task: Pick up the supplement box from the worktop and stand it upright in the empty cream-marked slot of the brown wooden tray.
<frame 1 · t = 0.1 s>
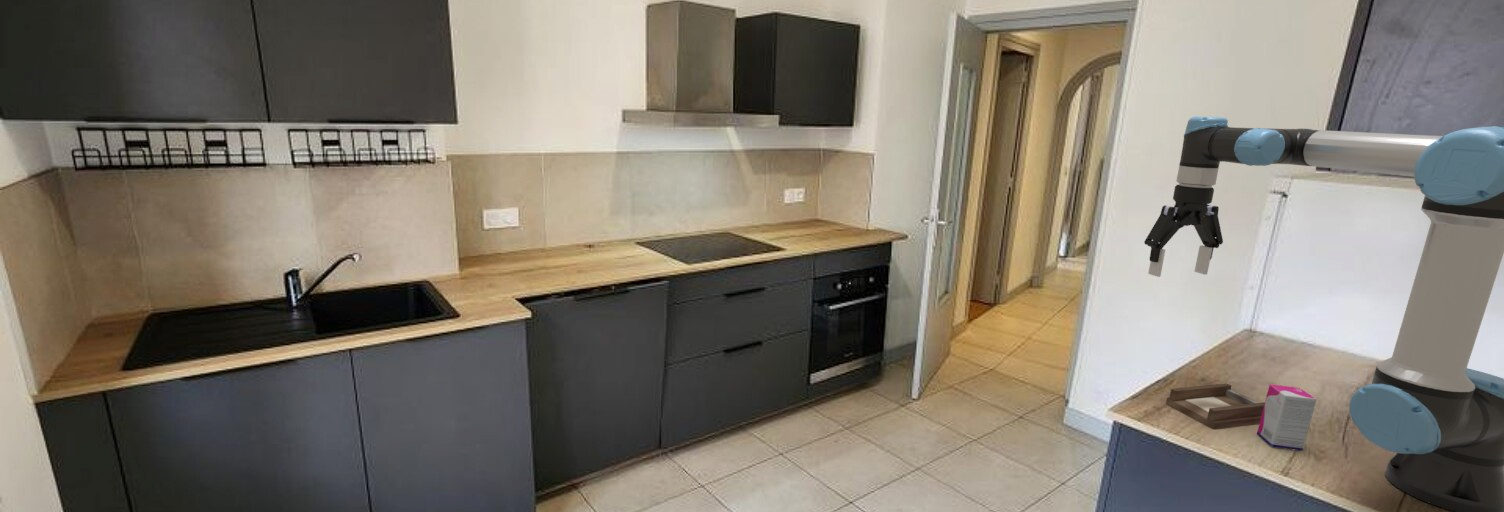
hand: (1177, 274, 153), 28 cm above the counter, tool pointing down, fingers open, 13 cm apart
brown wooden tray: (1217, 412, 144), on the counter
supplement box: (1279, 442, 132), on the counter
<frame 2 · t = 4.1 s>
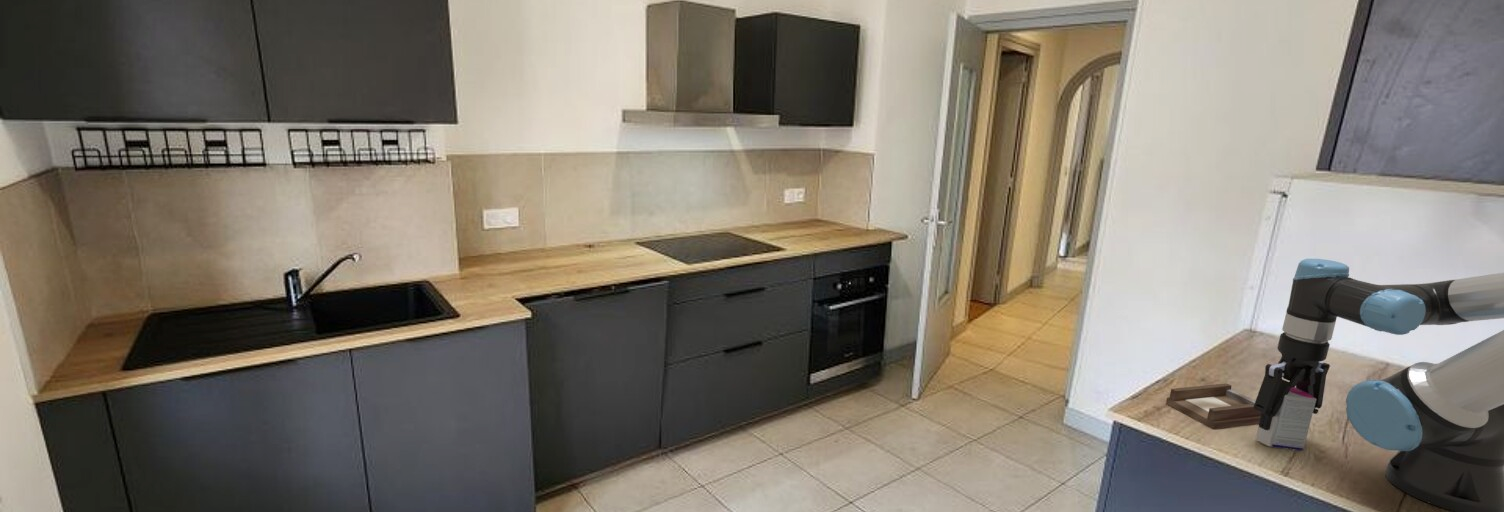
hand: (1279, 440, 132), 0 cm above the counter, tool pointing down, fingers closed on supplement box, 7 cm apart
supplement box: (1279, 442, 132), on the counter, touching gripper
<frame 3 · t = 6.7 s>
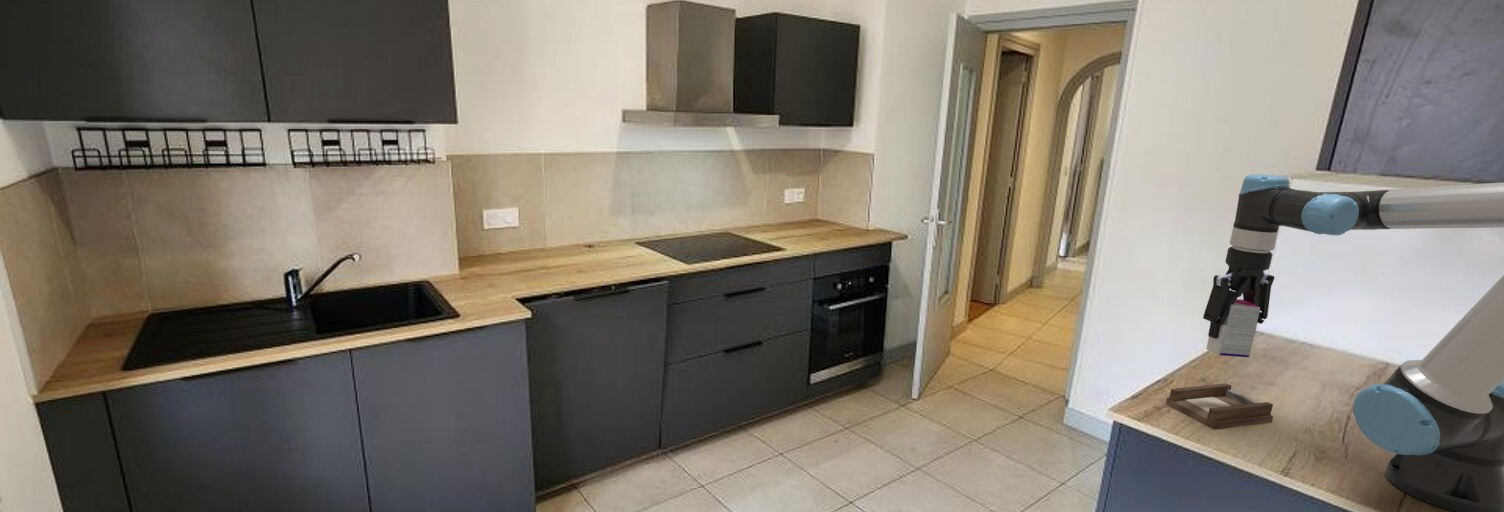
hand: (1227, 350, 140), 15 cm above the counter, tool pointing down, fingers closed on supplement box, 7 cm apart
supplement box: (1228, 352, 141), point 15 cm above the counter, touching gripper
when the fingers open (3 cm above the counter, at t = 9.3 s): supplement box drops 1 cm, resting on brown wooden tray.
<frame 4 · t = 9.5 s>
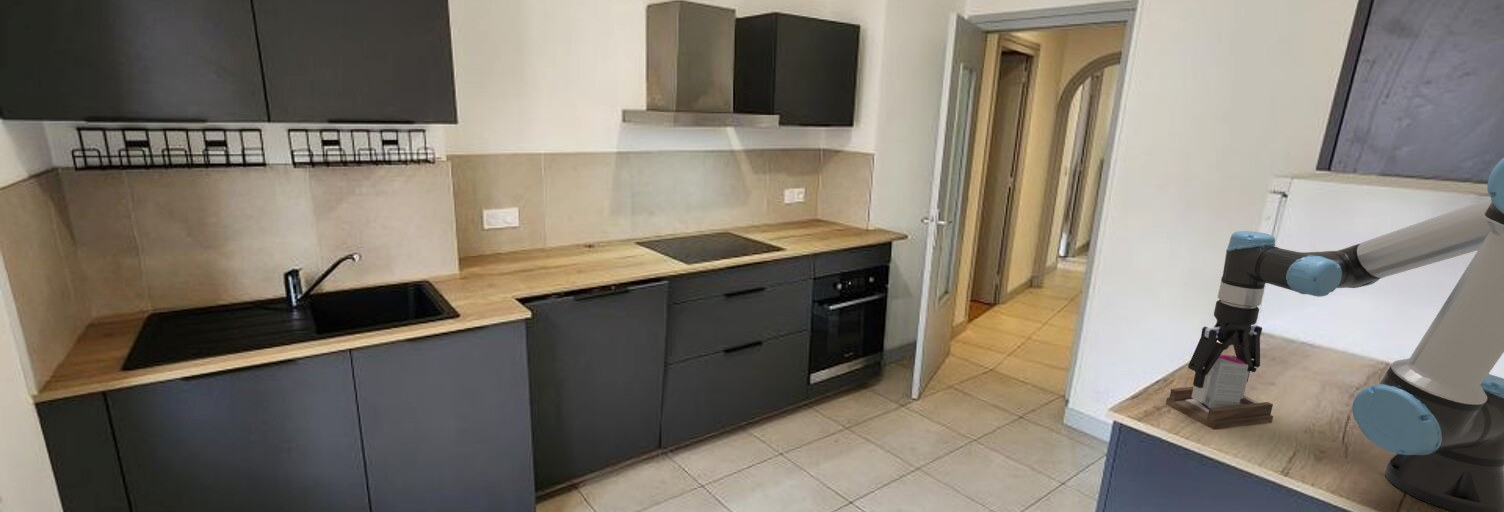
hand: (1217, 398, 143), 4 cm above the counter, tool pointing down, fingers open, 10 cm apart
supplement box: (1216, 407, 144), point 2 cm above the counter, touching brown wooden tray
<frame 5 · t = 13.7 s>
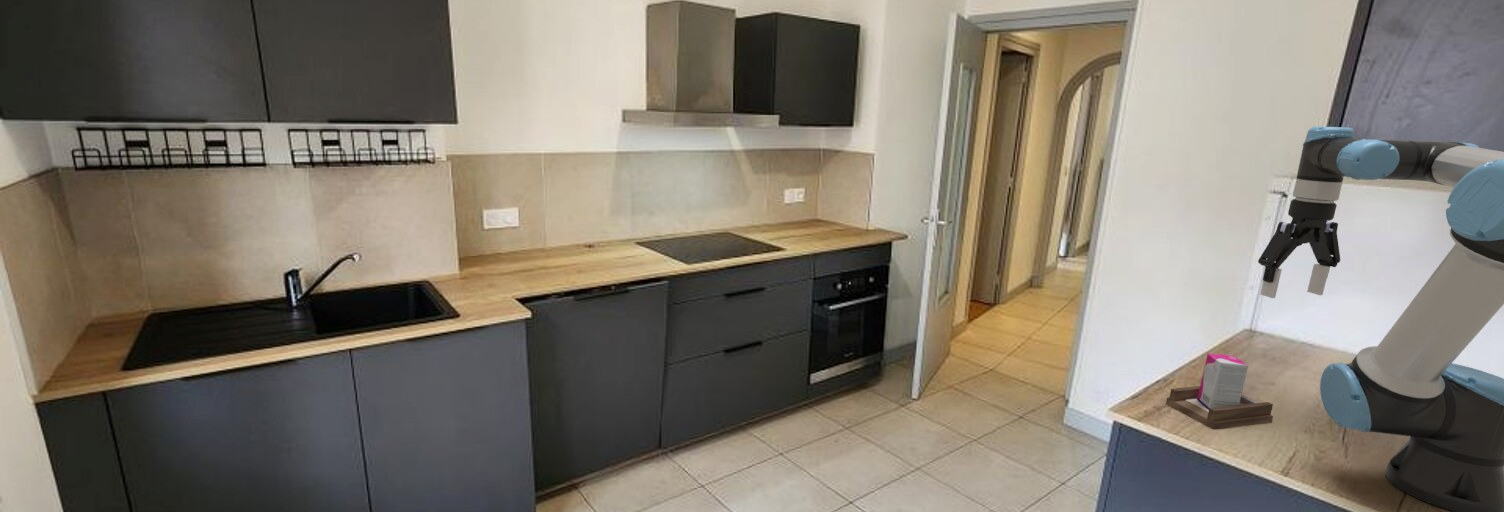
hand: (1291, 295, 142), 27 cm above the counter, tool pointing down, fingers open, 13 cm apart
nothing on the counter moved.
at the end: supplement box 0.3 cm from the target spot on the brown wooden tray, point 1.5 cm above the brown wooden tray's base; supplement box tilted 0°; the gripper is holding nothing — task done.
